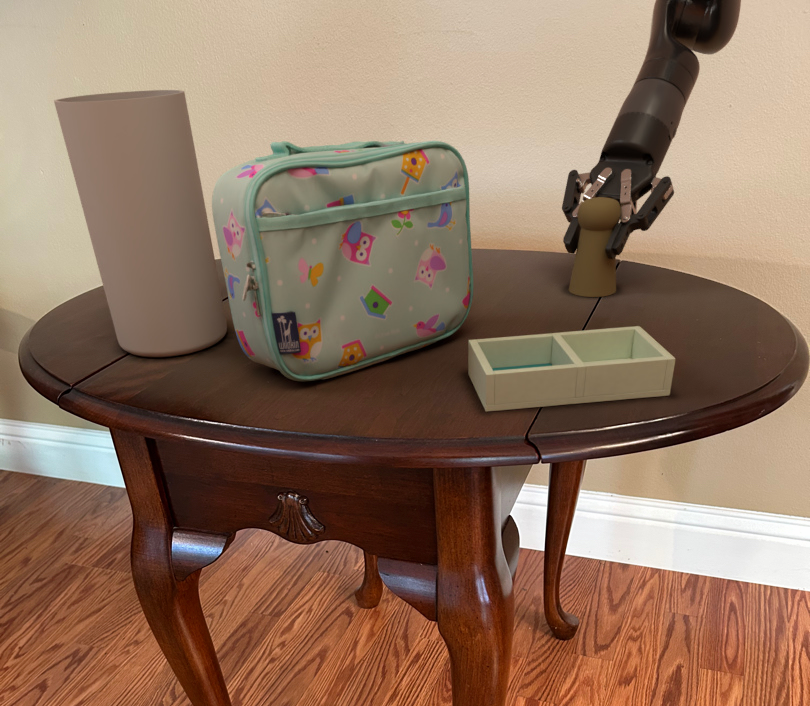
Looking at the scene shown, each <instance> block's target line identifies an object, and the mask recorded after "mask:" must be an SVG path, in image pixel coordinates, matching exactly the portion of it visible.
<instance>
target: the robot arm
mask: <svg viewBox="0 0 810 706" xmlns="http://www.w3.org/2000/svg"><path fill="white" fill-rule="evenodd" d="M741 6H742V0H655V2H654V5H653V10H652V15H651V23H650V33H649V40H648V45H647V51H646V53H645V56H644V60H643V63H642V64H641V67H640V69H639V72H638V74H637V76H636V78H635V81H634V83H633V85H632V88H631V90H630V91H629V93H628V94H627V96H626V98H625V99H624V101H623V103H622V104H621V107H620V109H619V110H618V113H617V115H616V118H615V120H614V122H613V125H612V127H611V129H610V131H609V134H608V135H607V138H606V140H605V142H604V145H603V147H602V149H601V152H600V156H599V159H598V162H597V163H596V164H595V166H594V167H593V168H591V170H590V171H589V172H583V173H579V172H578V170H577V169H572V170H570V171H569V173H568V174H567V179H566V185H565V189H564V195H563V199H562V200H563V201H562V205H561V210H562V212H563V214H564V217H565V218H566V221H567V222H568V223H569V225H568V226H567V229H566V232H565V234H564V235H563V239H562V242H563V244H564V248H565V250H566V252H567V253H568V254H572V255H574V254H576V251H577V246H578V241H579V236H580V231H581V226H580V224H579V223H578V209H579V206H580V205H581V203H582V202H583V201H585V200H586V199H590V198H595V197H607V198H611V199H615V200H617V201H618V202H619V204H620V207H621V214H620V220H619V223H616V225H615V227H614V230H613V232H612V234H611V236H610V239H609V241H608V243H607V245H606V248H605V253H606V255H607V257H608V259H615V260H616V257H617V256H620V255H621V254H622V253H623V251H624V249H625V247H626V244H627V242H628V241H629V240H628V239H629V237H630V235H631V234H633V232H634V231H638V230H640V231H642V232H645V231H648V230H649V229H650V228H651V227H652V225H653V224H654V222H655V221H656V219H657V218H658V217H659V216H660V214H661V213H662V212H663V210H664V208H666V206H667V205H668V203H669V202H670V200H671V199H672V197H673V196H674V194H675V190H674V185H673V182H672V179H671V177H670V176H663V177H662V178H660V177H657V175H658V173H659V172H660V170H661V167H662V164H663V162H664V160H665V157H666V155H667V153H668V151H669V149H670V147H671V144H672V142H673V140H674V139H675V137H676V134H677V131H678V129H679V126H680V124H681V121H682V120H681V119H682V115H683V113H684V110H685V108H686V105H687V103H688V101H689V98H690V96H691V94H692V92H693V89H694V87H695V85H696V83H697V80H698V78H699V74H700V70H701V69H700V66H701V65H700V60H699V59H698V55H696V54H695V53H698V54H703V55H714V54H717V53H719V52H720V51H722V50H723V49H724V48H725V47H726V46H727V45H728V44H729V42H730V41H731V40H732V38H733V36H734V35H735V32H736V30H737V28H738V24H739V19H740V13H741ZM590 184H591V186H589V185H590ZM587 186H589V188H588V190H586V189H587ZM647 193H650V194H649V196H648V197H647V198H646V200H645V201H644V202H643V204H642V205H641V207H640V208H639V209H638V200H640V199H642V198H643V197H644V196H645V195H646V194H647ZM582 194H583V196H582ZM581 196H582V200H581ZM637 210H638V211H637Z"/></svg>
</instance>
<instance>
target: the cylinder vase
mask: <svg viewBox="0 0 810 706" xmlns="http://www.w3.org/2000/svg"><path fill="white" fill-rule="evenodd" d="M53 103H54V106H55V111H56V114H57V118H58V121H59V125H60V130H61V133H62V136H63V140H64V144H65V147H66V151H67V155H68V160H69V162H70V167H71V171H72V175H73V178H74V182H75V185H76V188H77V189H76V190H77V193H78V196H79V197H78V198H79V200H80V204H81V209H82V211H83V216H84V220H85V223H86V226H87V230H88V234H89V239H90V241H91V245H92V246H91V247H92V249H93V252H94V257H95V260H96V265H97V268H98V272H99V275H100V280H101V282H102V287H103V290H104V294H105V297H106V301H107V305H108V306H107V307H108V309H109V313H110V316H111V320H112V324H113V328H114V331H115V335H116V339H117V343H118V345H119V346H120V347H121V349H122V350H123V351H125V352H126V353H128V354H131V355H134V356H139V357H144V358H145V357H146V358H169V357H176V356H183V355H188V354H192V353H196V352H200V351H203V350H205V349H207V348H208V349H209V348H210V347H212V346H215V344H217V343H218V342H220V341H221V340H223V338H224V337H225V336H226V334H227V331H228V324H227V319H226V313H225V308H224V303H223V296H222V290H221V286H220V285H221V284H220V281H219V275H218V270H217V264H216V258H215V254H214V248H213V241H212V236H211V230H210V225H209V220H208V219H209V218H208V213H207V208H206V204H205V203H206V202H205V198H204V192H203V191H204V190H203V187H202V181H201V175H200V170H199V164H198V159H197V154H196V149H195V143H194V136H193V131H192V127H191V126H192V125H191V120H190V115H189V108H188V103H187V98H186V92H185V90H180V89H156V90H155V89H153V90H150V89H149V90H133V91H131V90H130V91H119V92H118V91H117V92H105V93H95V94H85V95H76V96H69V97H68V96H67V97H63V98H57V99H54V100H53Z"/></svg>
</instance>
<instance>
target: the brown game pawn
mask: <svg viewBox="0 0 810 706" xmlns="http://www.w3.org/2000/svg"><path fill="white" fill-rule="evenodd" d="M581 202H582V201H581ZM581 202H580V203H581ZM620 214H621V207H620V204H619V202H618V201H617V200H615V199H611V198H607V197H595V198H590V199H586V200H585V201H583V202H582V203H581V205H580V206H579V209H578V223H579V224H580V226H581V231H580V236H579V241H578V246H577V249H576V252H575V258H574V262H573V265H572V271H571V274H570V275H571V276H570V281H569V286H568V292H569V293H570V294H572V295H574V296H579V297H587V298H601V297H608V296H611V295H613V294H614V295H615V293H616V292H617V271H616V270H617V267H616V266H617V265H616V262H617V261H616V258H615V259H608V257H607V255H606V253H605V248H606V245H607V243H608V241H609V239H610V236H611V234H612V232H613V230H614V227H615V225H616V223H620Z"/></svg>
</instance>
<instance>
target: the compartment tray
mask: <svg viewBox="0 0 810 706" xmlns="http://www.w3.org/2000/svg"><path fill="white" fill-rule="evenodd" d="M467 345H468V347H467V348H468V349H467V350H468V351H467V354H468V355H467V361H468V362H467V368H468V369H467V375H468V376H469V379H470V381H471V383H472V384H473V387H474V389H475V392H476V394H477V397H478V399H479V400H480V402H481V405H482V407H483V409H484V411H485V412H497V411H508V410H509V411H510V410H521V409H530V408H542V407H554V406H564V405H576V404H589V403H599V402H610V401H623V400H632V399H633V400H634V399H643V398H644V399H645V398H655V397H666V396H667V397H668V396H671V389H672V384H673V383H672V382H673V377H674V371H675V366H676V365H675V364H676V358H675V356H673V354H671V353H670V352H669V351H668V350H667V349H666V348H664V347H663V346H662V345H661V344H660V343H659V342H658V341H656V339H654V338H653V336H651V335H650V334H649V333H648V332H647V331H646V330H644V328H642V327H641V326H640V325H636V326H623V327H610V328H599V329H598V328H597V329H587V330H575V331H574V330H573V331H562V332H561V331H560V332H553V333H552V332H549V333H538V334H537V333H536V334H527V335H513V336H503V337H489V338H488V337H487V338H477V339H468V341H467Z"/></svg>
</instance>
